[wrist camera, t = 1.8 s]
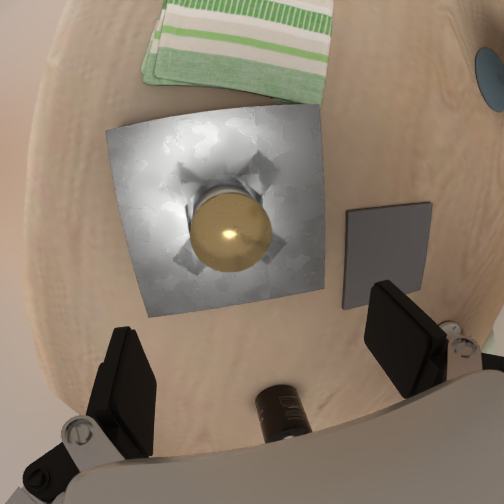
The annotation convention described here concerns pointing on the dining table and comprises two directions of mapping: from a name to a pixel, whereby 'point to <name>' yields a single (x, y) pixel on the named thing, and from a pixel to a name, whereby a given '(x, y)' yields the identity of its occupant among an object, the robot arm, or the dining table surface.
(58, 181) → the dining table surface
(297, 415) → the supplement bottle
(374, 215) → the mat
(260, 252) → the can with gold end
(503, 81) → the cocktail glass
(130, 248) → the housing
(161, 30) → the dish towel
